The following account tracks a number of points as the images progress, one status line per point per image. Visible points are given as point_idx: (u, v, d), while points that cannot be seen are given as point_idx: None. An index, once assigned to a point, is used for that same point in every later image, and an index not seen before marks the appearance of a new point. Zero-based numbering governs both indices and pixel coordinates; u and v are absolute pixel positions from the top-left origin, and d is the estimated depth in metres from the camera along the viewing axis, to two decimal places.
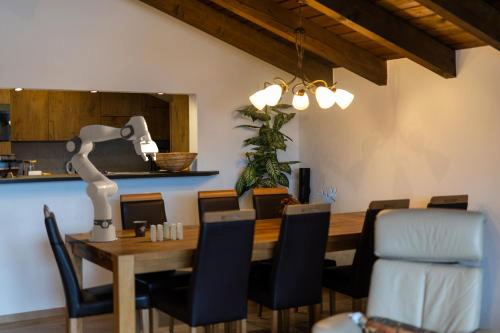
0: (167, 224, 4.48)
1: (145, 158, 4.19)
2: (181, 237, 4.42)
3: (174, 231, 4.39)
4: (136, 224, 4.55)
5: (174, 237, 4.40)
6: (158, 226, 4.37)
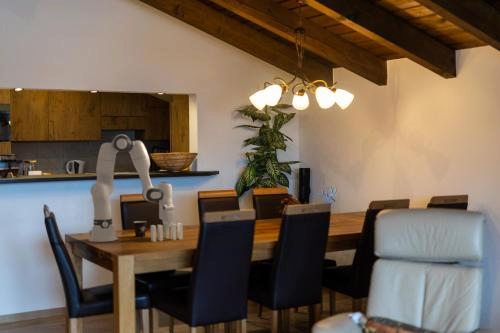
0: None
1: (168, 225, 4.47)
2: (181, 237, 4.42)
3: (174, 231, 4.39)
4: (136, 224, 4.55)
5: (174, 237, 4.40)
6: (158, 226, 4.37)
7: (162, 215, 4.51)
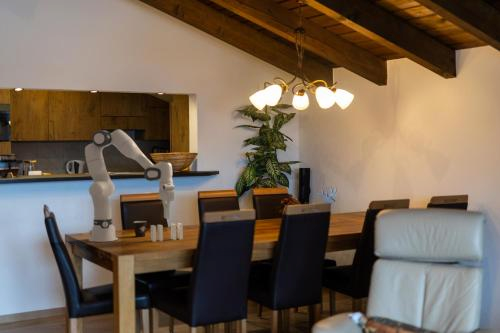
0: None
1: (168, 205, 4.37)
2: (181, 237, 4.42)
3: (174, 231, 4.39)
4: (136, 224, 4.55)
5: (174, 237, 4.40)
6: (158, 226, 4.37)
7: (162, 195, 4.41)
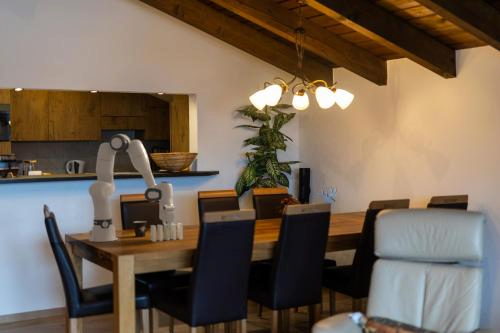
0: None
1: (169, 226, 4.36)
2: (181, 237, 4.42)
3: (174, 231, 4.39)
4: (136, 224, 4.55)
5: (174, 237, 4.40)
6: (158, 226, 4.37)
7: (162, 215, 4.41)
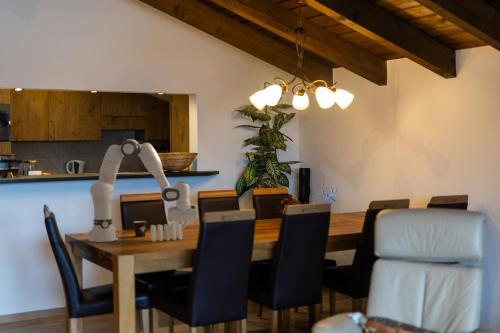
0: (168, 226, 4.38)
1: None
2: (181, 237, 4.42)
3: (174, 231, 4.39)
4: (136, 224, 4.55)
5: (174, 237, 4.40)
6: (158, 226, 4.37)
7: (180, 216, 4.42)
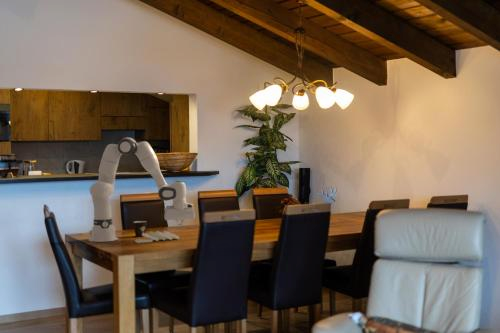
0: (153, 233, 4.34)
1: (181, 223, 4.45)
2: (177, 237, 4.41)
3: (164, 235, 4.37)
4: (136, 224, 4.55)
5: (169, 238, 4.38)
6: (144, 236, 4.33)
7: (177, 215, 4.41)
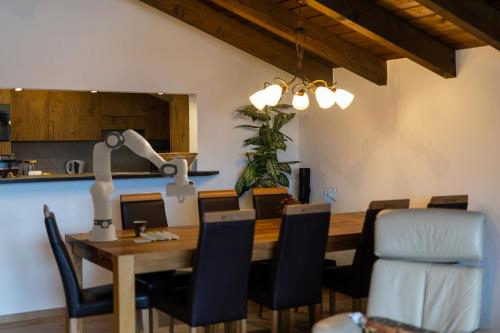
0: (151, 234, 4.33)
1: None
2: (177, 237, 4.40)
3: (163, 235, 4.36)
4: (136, 224, 4.55)
5: (169, 238, 4.38)
6: None
7: (178, 191, 4.43)
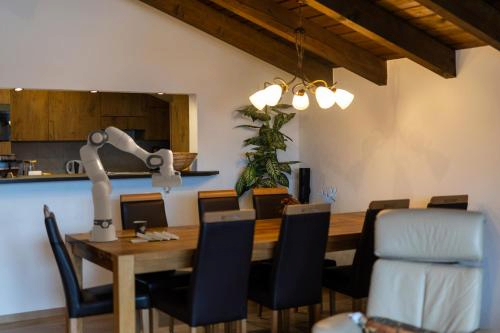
0: (149, 234, 4.33)
1: None
2: (177, 237, 4.40)
3: (162, 236, 4.36)
4: (136, 224, 4.55)
5: (167, 238, 4.37)
6: None
7: (164, 182, 4.50)
